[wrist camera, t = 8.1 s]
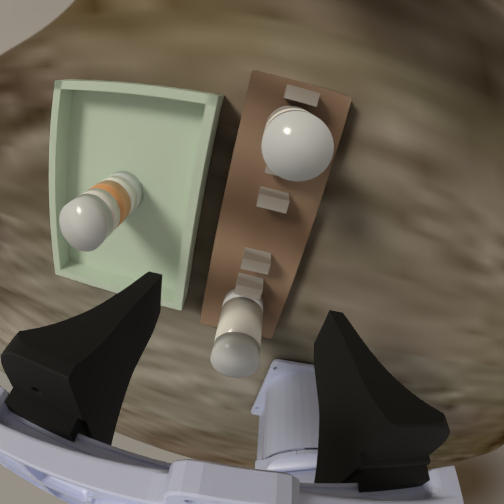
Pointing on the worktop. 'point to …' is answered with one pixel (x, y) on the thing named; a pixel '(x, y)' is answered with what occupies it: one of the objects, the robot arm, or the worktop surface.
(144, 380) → the worktop surface
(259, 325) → the cylinder
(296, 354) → the worktop surface
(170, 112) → the tray
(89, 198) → the marked fuse
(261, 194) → the fuse holder
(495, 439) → the worktop surface
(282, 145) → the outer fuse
